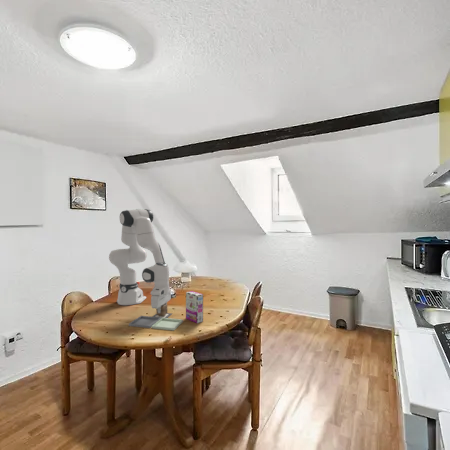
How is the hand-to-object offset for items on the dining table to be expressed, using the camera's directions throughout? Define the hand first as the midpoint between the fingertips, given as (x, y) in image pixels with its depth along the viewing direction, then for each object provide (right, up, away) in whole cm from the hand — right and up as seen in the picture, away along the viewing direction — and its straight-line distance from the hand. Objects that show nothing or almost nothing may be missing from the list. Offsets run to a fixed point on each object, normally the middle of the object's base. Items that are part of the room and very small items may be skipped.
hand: (161, 311), depth 171 cm
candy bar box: (+21, -4, -7) cm, 22 cm away
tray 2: (+7, -4, -15) cm, 17 cm away
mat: (0, -3, 0) cm, 3 cm away
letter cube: (0, -2, 0) cm, 2 cm away
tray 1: (-7, -3, -12) cm, 14 cm away
